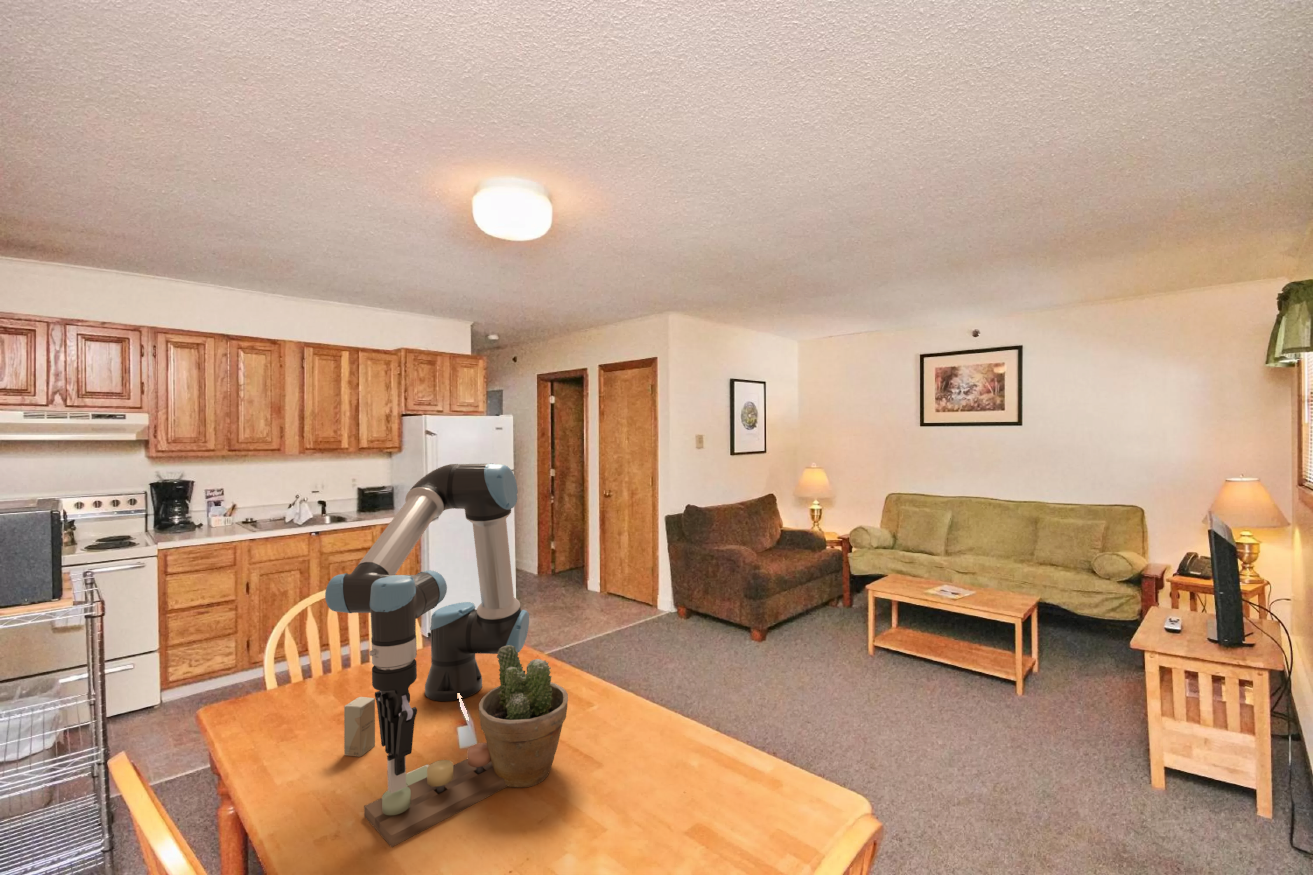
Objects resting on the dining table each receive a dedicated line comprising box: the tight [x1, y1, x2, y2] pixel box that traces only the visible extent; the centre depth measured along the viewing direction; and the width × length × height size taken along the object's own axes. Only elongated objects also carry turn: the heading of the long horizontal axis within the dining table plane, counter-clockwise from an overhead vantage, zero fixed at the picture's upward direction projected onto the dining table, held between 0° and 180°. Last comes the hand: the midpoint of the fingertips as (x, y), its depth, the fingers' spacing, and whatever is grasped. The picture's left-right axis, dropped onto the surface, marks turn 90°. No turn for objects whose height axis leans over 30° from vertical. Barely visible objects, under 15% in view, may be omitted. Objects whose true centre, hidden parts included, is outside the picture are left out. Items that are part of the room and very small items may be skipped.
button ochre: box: [427, 759, 454, 792], centre depth 114 cm, size 5×5×5 cm
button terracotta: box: [466, 742, 491, 773], centre depth 120 cm, size 5×5×5 cm
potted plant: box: [478, 645, 569, 788], centre depth 122 cm, size 18×19×25 cm
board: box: [363, 758, 508, 848], centre depth 114 cm, size 24×12×2 cm, turn 137°
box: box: [343, 696, 376, 757], centre depth 132 cm, size 5×4×11 cm
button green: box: [381, 787, 411, 816], centre depth 108 cm, size 5×5×5 cm
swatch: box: [406, 763, 430, 787], centre depth 120 cm, size 7×7×1 cm
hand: (397, 788), depth 108 cm, fingers closed
